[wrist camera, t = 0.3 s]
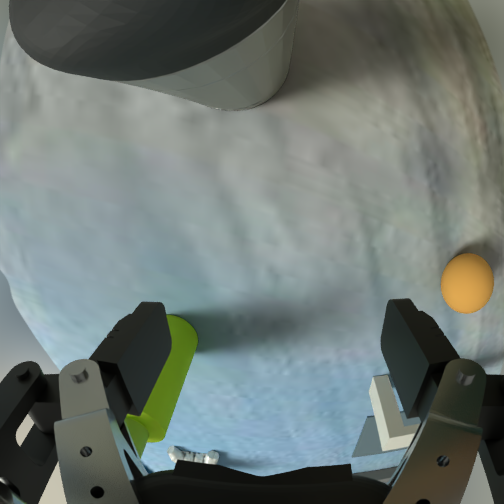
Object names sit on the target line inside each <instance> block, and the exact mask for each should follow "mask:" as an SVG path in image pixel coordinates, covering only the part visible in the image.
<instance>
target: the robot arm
mask: <svg viewBox="0 0 504 504" xmlns="http://www.w3.org/2000/svg"><path fill="white" fill-rule="evenodd" d="M298 5H299V0H10V1H9V17H10V23H11V28H12V31H13V34H14V37H15V38H16V40H17V42H18V44H19V45H20V46H21V48H22V49H23V50H24V51H25V52H26V53H27V54H28V55H29V56H30V57H31V58H33V59H34V60H36V61H37V62H39V63H41V64H43V65H45V66H47V67H50V68H52V69H54V70H58V71H62V72H65V73H70V74H75V75H81V76H87V77H92V78H98V79H104V80H110V81H115V82H119V83H124V84H129V85H133V86H138V87H142V88H146V89H150V90H154V91H158V92H162V93H165V94H169V95H172V96H176V97H179V98H183V99H186V100H190V101H193V102H196V103H199V104H202V105H205V106H207V107H210V108H213V109H218V110H224V111H240V110H246V109H250V108H253V107H256V106H258V105H260V104H262V103H264V102H265V101H267V100H269V99H270V98H271V97H272V96H273V95H274V94H275V93H276V92H277V91H278V90H279V89H280V87H281V86H282V84H283V83H284V81H285V79H286V76H287V74H288V70H289V64H290V59H291V53H292V47H293V40H294V33H295V26H296V19H297V12H298ZM171 348H172V338H171V334H170V329H169V325H168V321H167V316H166V312H165V307H164V305H163V303H161V302H141V303H140V304H139V306H138V307H137V308H136V309H135V311H134V312H133V313H132V314H129V315H127V316H125V317H124V318H122V319H121V320H119V321H118V323H117V324H116V325H115V326H114V328H113V329H112V331H110V333H109V334H108V335H107V338H105V339H104V340H103V341H102V343H101V344H100V345H99V346H98V348H97V349H96V350H95V352H94V353H93V354H92V355H91V357H90V358H89V359H80V360H76V361H73V362H71V363H69V364H68V365H66V366H65V367H64V368H63V369H62V370H61V372H60V374H47V375H46V374H45V375H44V374H43V372H42V370H41V368H40V366H39V365H38V364H37V363H36V362H32V361H27V362H23V363H20V364H18V365H16V366H15V367H14V368H12V369H11V371H10V372H9V373H8V374H7V375H6V377H5V378H4V379H3V380H2V381H1V383H0V504H38V503H39V501H40V498H41V496H42V494H43V492H44V490H45V487H46V485H47V483H48V481H49V479H50V477H51V475H52V473H53V471H54V469H55V466H56V464H57V462H58V461H59V467H60V473H61V478H62V483H63V488H64V493H65V497H66V501H67V504H460V503H461V500H462V497H463V495H464V492H465V490H466V487H467V484H468V481H469V478H470V475H471V472H472V469H473V466H474V463H475V460H476V456H477V453H478V452H479V455H480V458H481V461H482V464H483V467H484V470H485V473H486V476H487V479H488V483H489V486H490V490H491V493H492V497H493V500H494V504H504V375H488V374H486V373H485V371H484V369H483V368H482V367H481V366H480V365H479V364H478V363H476V362H474V361H472V360H469V359H464V358H460V357H459V355H458V354H457V352H456V351H455V349H454V348H453V346H452V345H451V343H450V342H449V340H448V339H447V337H446V336H444V333H443V332H442V330H441V329H440V328H439V326H438V325H437V323H436V322H435V320H434V319H433V318H432V317H431V316H429V315H428V314H426V313H425V312H423V311H418V309H417V308H416V306H415V305H414V304H413V302H412V301H411V300H410V299H409V298H406V299H391V300H389V301H388V303H387V307H386V313H385V318H384V324H383V329H382V334H381V350H382V354H383V356H384V359H385V361H386V364H387V366H388V369H389V371H390V374H391V377H392V379H393V382H394V385H395V387H396V390H397V393H398V395H399V398H400V401H401V404H402V406H403V409H404V412H405V415H406V418H407V419H410V418H415V417H419V418H420V421H421V422H420V424H419V426H418V428H417V430H416V432H415V435H414V437H413V439H412V441H411V443H410V445H409V447H408V449H407V450H406V452H405V454H404V456H403V458H402V460H401V462H400V464H399V465H398V467H397V469H396V471H395V472H394V474H393V475H392V477H391V479H390V480H389V482H388V483H387V484H385V483H383V482H381V481H378V480H376V479H373V478H369V477H365V476H360V475H353V474H352V470H351V464H343V465H333V466H319V467H306V468H302V469H298V470H294V471H290V472H285V473H280V474H275V475H270V476H256V475H252V474H248V473H244V472H241V471H237V470H234V469H230V468H227V467H224V466H221V465H217V464H207V463H199V462H192V461H185V460H179V459H177V462H176V465H175V469H174V470H166V471H159V472H155V473H151V474H148V473H147V472H146V470H145V468H144V466H143V464H142V462H141V460H140V457H139V455H138V452H137V450H136V447H135V445H134V442H133V440H132V437H131V435H130V432H129V429H128V427H127V424H126V422H125V418H126V416H127V414H130V415H135V416H141V413H142V411H143V409H144V407H145V405H146V403H147V401H148V398H149V396H150V394H151V392H152V390H153V388H154V386H155V384H156V382H157V380H158V377H159V375H160V373H161V371H162V369H163V367H164V365H165V363H166V361H167V359H168V357H169V355H170V352H171ZM27 414H29V416H30V417H31V419H32V420H33V421H34V425H33V426H32V428H31V430H30V431H29V433H28V435H27V437H26V438H25V440H24V441H23V443H22V445H21V446H19V445H18V444H17V441H16V431H17V429H18V427H19V426H20V425H21V423H22V422H23V420H24V418H25V417H26V415H27Z"/></svg>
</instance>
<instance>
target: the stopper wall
mask: <svg viewBox="0 0 504 504" xmlns="http://www.w3.org/2000/svg"><path fill="white" fill-rule="evenodd" d="M397 467H398V466H397ZM397 467H392V468H387V469H381V470H376V471H369V472H362V473H355V474H353V475H360V476H365V477H369V478H373V479H376V480H378V481H381V482H388V481H389V480H390V479H391V477H392V475H393V474H394V472H395V471H396V469H397Z"/></svg>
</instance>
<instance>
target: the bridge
mask: <svg viewBox="0 0 504 504" xmlns="http://www.w3.org/2000/svg"><path fill="white" fill-rule="evenodd" d="M369 395H370V399H371V403H372V407H373V411H374V415H375V419H376V424H377V428H378V433H379V437H380V442H381V447H382V451H388V450H393V449H399V448H404V447H408V446H409V445H410V443H411V441H412V439H413V437H414V435H415V432H416V430H417V428H418V426H419V424H415V425H410V426H405V427H404V425H403V421H402V418H401V415H400V411H399V408H398V405H397V402H396V399H395V395H394V392H393V389H392V386H391V383H390V380H389V377H388V375H383V376H374V377H373V379H372V382H371V386H370V389H369Z"/></svg>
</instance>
